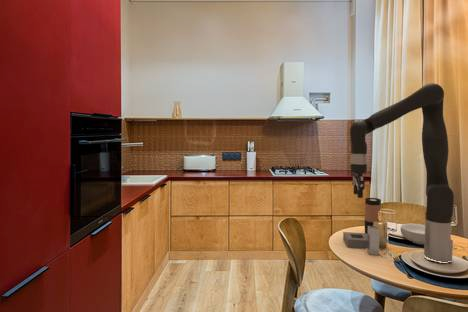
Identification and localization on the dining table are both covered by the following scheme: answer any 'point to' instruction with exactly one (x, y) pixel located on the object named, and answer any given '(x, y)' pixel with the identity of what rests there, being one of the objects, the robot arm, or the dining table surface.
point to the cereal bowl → (414, 233)
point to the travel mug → (371, 211)
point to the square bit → (373, 240)
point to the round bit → (382, 233)
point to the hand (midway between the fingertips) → (357, 195)
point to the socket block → (355, 240)
